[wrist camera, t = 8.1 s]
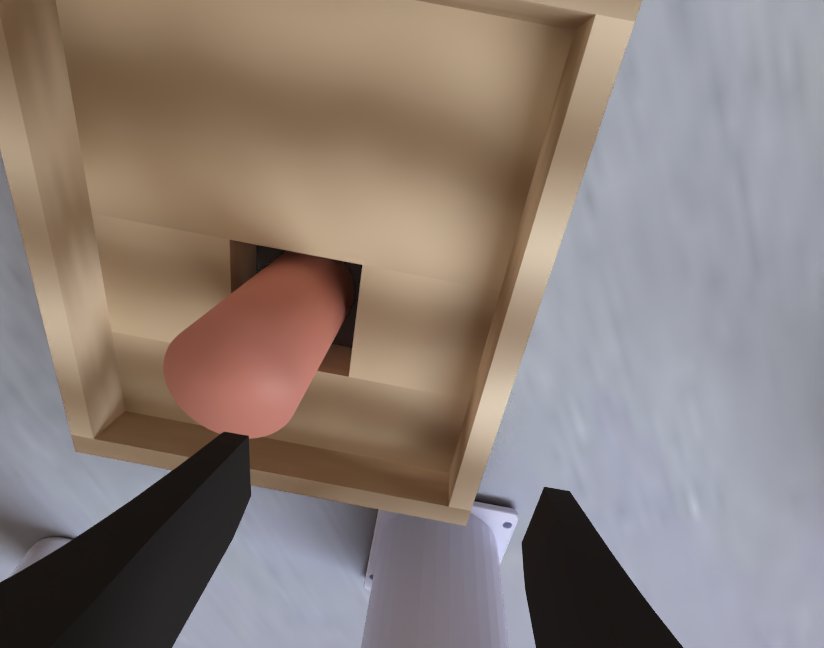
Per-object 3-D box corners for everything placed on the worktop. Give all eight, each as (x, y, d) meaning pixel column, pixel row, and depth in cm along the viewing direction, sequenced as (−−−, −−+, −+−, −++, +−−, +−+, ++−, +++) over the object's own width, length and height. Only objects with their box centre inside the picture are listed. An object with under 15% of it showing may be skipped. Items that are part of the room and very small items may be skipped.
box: (462, 455, 23) (465, 526, 19) (141, 393, 23) (75, 451, 19) (593, 16, 14) (651, -29, 10) (73, -83, 14) (-79, -167, 10)
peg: (350, 333, 20) (296, 448, 13) (269, 318, 20) (170, 425, 13) (359, 254, 18) (301, 337, 11) (270, 238, 18) (155, 311, 11)
